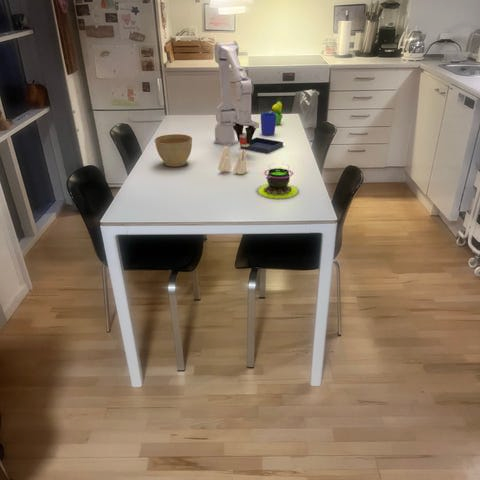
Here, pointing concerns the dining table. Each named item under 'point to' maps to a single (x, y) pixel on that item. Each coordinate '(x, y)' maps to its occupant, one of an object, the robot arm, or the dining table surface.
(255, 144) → the tray
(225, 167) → the shaker set
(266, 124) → the mug
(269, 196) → the toy cauldron
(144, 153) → the dining table surface
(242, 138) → the tin can
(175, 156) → the planter bowl
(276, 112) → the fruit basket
